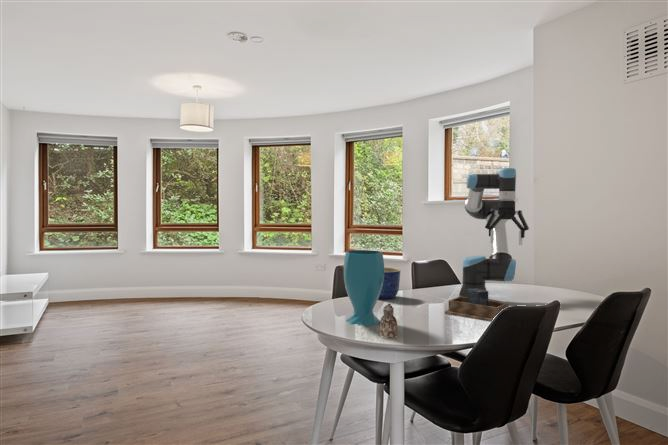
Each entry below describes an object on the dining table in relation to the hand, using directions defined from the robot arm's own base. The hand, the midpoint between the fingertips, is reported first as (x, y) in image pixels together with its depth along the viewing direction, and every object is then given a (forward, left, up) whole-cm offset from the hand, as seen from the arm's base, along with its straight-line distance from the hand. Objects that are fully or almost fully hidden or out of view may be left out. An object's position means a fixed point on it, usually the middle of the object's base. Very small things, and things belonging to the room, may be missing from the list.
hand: (506, 244), depth 218 cm
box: (-5, -21, -31) cm, 38 cm away
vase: (-38, -65, -32) cm, 82 cm away
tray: (-5, -21, -32) cm, 38 cm away
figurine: (-18, -76, -32) cm, 84 cm away
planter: (-59, -17, -32) cm, 69 cm away
